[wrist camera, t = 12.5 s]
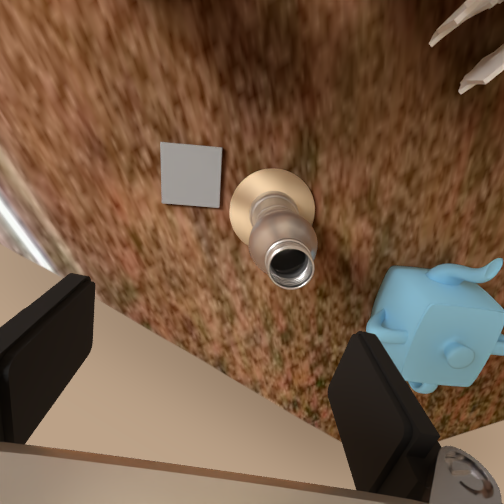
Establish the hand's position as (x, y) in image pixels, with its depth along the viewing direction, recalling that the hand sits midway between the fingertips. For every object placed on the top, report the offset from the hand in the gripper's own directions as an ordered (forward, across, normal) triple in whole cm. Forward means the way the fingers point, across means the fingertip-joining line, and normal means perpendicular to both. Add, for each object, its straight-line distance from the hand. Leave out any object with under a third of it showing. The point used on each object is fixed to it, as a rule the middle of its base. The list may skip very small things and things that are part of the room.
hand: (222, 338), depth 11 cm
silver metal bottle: (+32, -5, +2) cm, 32 cm away
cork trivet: (+32, -5, +3) cm, 33 cm away
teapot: (+32, -30, +10) cm, 45 cm away
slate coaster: (+33, +7, 0) cm, 34 cm away
